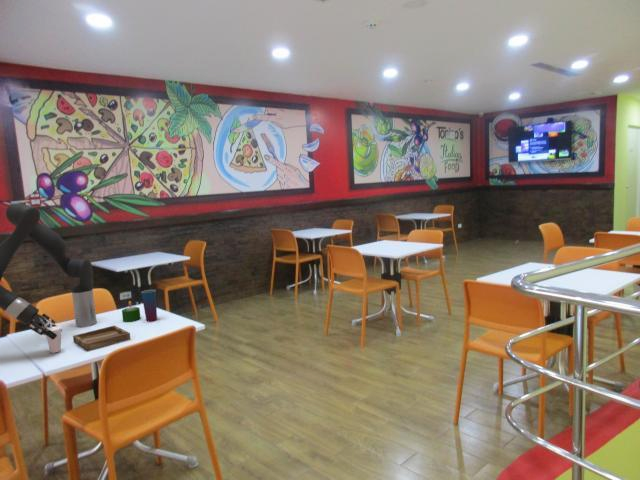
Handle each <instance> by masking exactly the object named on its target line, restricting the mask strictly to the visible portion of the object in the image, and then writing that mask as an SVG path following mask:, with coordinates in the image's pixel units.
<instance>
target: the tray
mask: <svg viewBox="0 0 640 480" xmlns="http://www.w3.org/2000/svg"><path fill="white" fill-rule="evenodd" d="M72 338H73V339H72V340H73V343H74V344H76V345H77V346H78V347H80V348H81V349H83V350H84V351H86V352H91V351H94V350H98V349H102V348H104V347H108V346H112V345H115V344H119V343H123V342H126V341H129V340H132V339H131V332H129V331H127V330H125V329H122V328H121V327H120V326H117V325H112V326H111V325H110V326H106V327H103V328H98V329H95V330H90V331H87V332H83V333H79V334H74V335H72Z"/></svg>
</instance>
